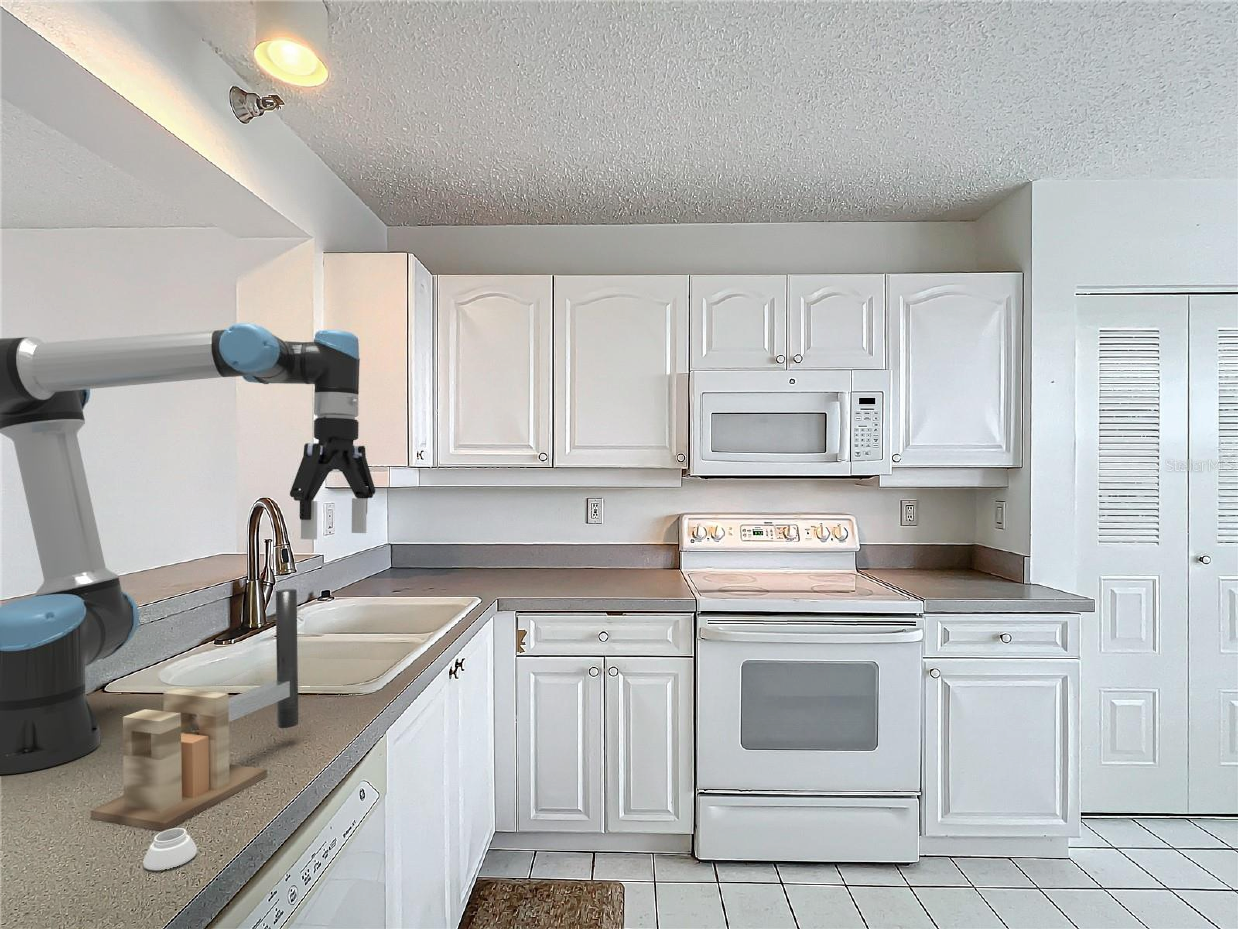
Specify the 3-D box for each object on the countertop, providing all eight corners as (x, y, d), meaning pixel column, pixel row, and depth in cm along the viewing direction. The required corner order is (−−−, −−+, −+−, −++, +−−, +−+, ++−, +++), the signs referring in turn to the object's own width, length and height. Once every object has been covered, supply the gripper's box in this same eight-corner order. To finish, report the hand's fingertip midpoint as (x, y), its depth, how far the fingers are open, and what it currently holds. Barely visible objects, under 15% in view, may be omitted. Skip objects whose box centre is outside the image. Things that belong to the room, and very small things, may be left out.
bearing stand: (90, 818, 91) (89, 713, 91) (199, 767, 106) (198, 677, 106) (165, 831, 87) (163, 722, 87) (266, 776, 102) (265, 683, 102)
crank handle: (190, 765, 99) (188, 610, 99) (287, 720, 116) (285, 588, 116) (207, 767, 98) (205, 611, 98) (302, 722, 115) (300, 589, 115)
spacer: (150, 791, 96) (150, 738, 96) (167, 783, 98) (167, 731, 98) (193, 798, 94) (192, 743, 94) (209, 789, 96) (208, 736, 96)
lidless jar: (202, 847, 84) (153, 853, 83) (202, 821, 84) (153, 827, 83) (188, 870, 79) (136, 877, 78) (187, 842, 79) (135, 849, 78)
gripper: (305, 412, 119) (303, 543, 118) (394, 422, 142) (393, 531, 142) (267, 412, 121) (266, 541, 121) (361, 422, 145) (360, 530, 144)
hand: (335, 536), depth 131 cm, fingers open, 13 cm apart
